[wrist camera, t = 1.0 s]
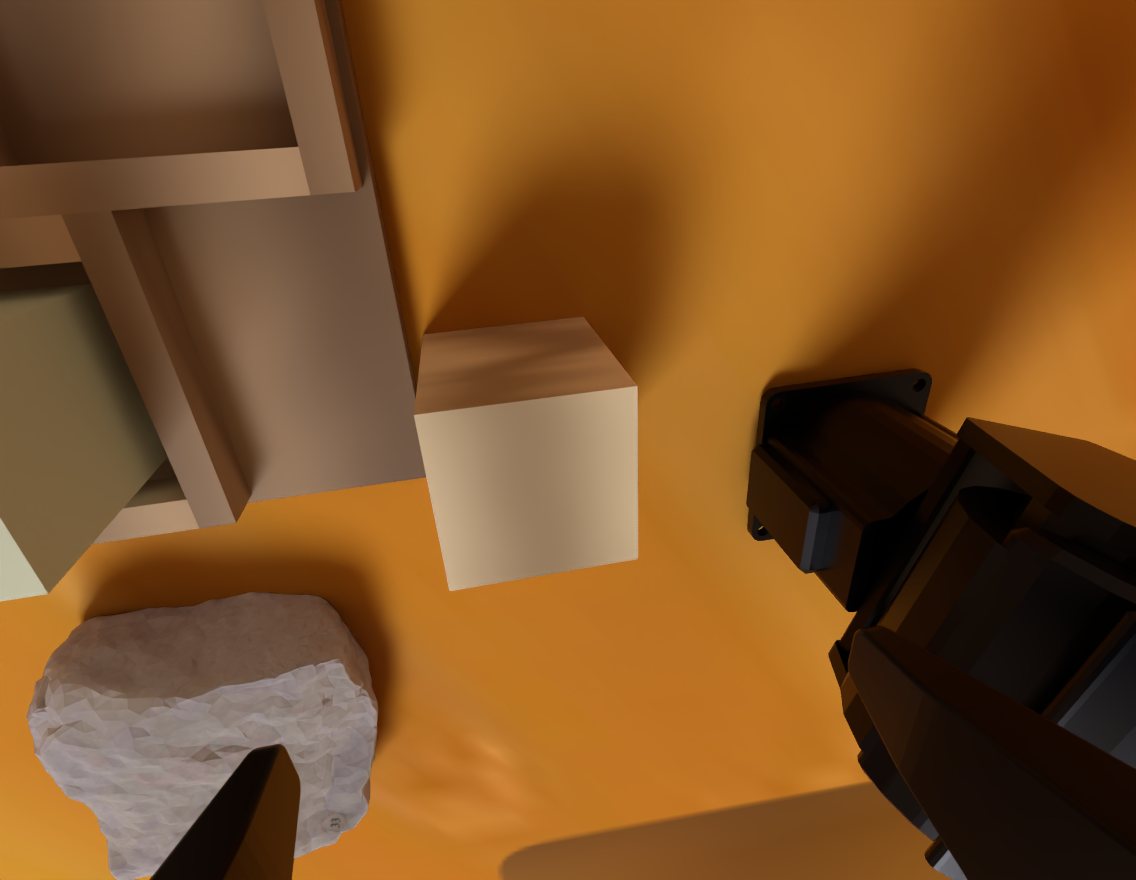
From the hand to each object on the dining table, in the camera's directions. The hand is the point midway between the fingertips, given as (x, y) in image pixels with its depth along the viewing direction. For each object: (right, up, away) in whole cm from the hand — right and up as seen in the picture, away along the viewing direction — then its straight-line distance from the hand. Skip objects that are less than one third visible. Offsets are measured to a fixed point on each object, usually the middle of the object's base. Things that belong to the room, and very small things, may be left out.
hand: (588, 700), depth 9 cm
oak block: (-2, +5, +10) cm, 12 cm away
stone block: (-13, -7, +15) cm, 21 cm away
